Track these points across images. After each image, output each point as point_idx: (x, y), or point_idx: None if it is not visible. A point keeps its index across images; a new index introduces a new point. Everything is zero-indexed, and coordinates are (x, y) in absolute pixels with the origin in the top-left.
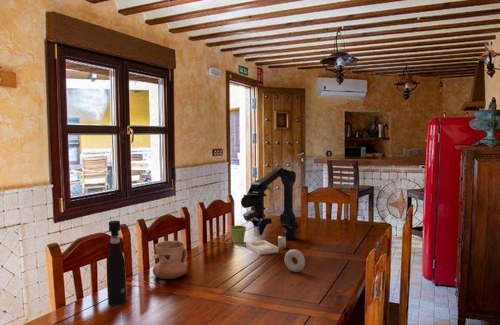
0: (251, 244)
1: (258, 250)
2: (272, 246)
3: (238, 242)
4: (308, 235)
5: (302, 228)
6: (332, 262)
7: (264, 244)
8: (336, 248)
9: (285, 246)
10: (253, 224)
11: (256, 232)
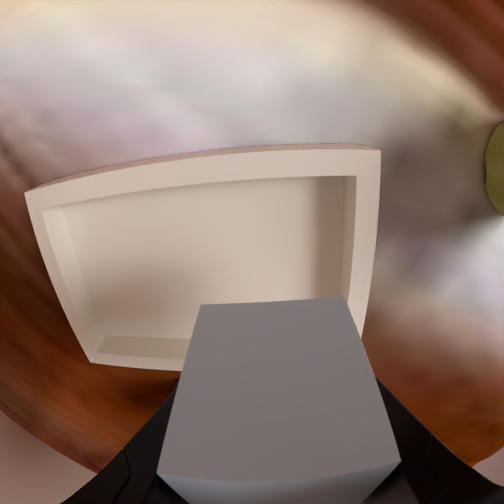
0: (348, 211)
1: (45, 185)
2: (151, 350)
3: (494, 145)
4: None
5: None
6: (2, 391)
7: None
8: None
9: None
10: (465, 480)
11: (214, 371)
